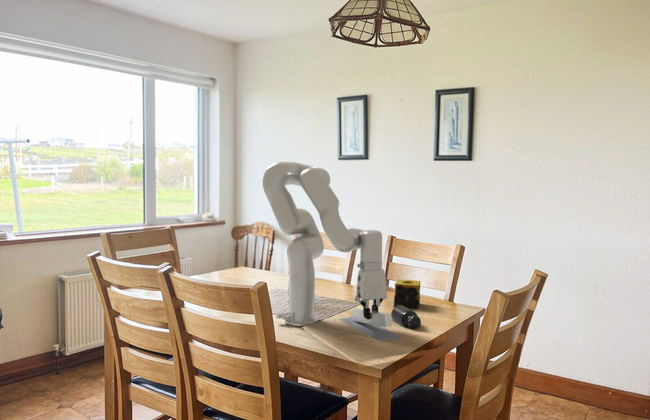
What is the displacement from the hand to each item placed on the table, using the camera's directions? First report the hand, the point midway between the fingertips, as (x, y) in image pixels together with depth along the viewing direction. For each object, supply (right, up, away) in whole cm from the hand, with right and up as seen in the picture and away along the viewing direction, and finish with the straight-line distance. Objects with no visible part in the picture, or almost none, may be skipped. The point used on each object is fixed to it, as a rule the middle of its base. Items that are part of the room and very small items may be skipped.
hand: (370, 317), depth 183 cm
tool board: (-1, -5, +1) cm, 5 cm away
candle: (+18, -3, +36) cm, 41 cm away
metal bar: (0, -2, 0) cm, 2 cm away
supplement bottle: (+11, -1, +11) cm, 16 cm away
